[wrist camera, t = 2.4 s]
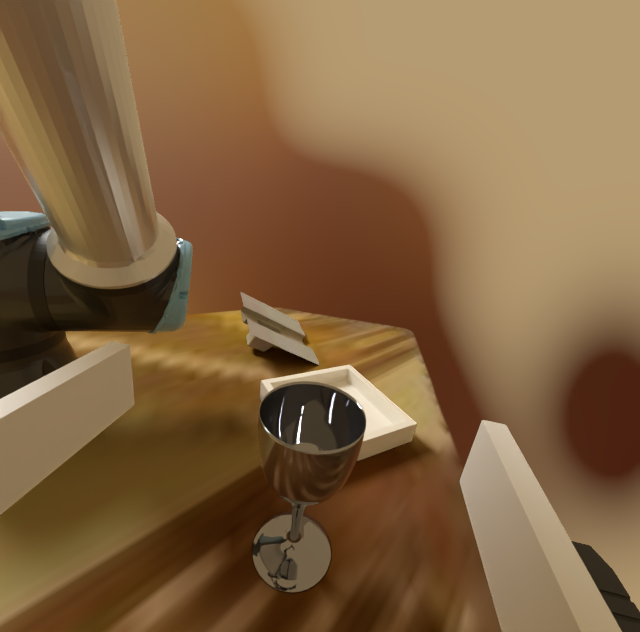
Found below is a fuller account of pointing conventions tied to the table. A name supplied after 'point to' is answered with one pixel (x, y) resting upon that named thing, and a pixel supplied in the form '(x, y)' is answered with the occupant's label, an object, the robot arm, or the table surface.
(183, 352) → the table surface
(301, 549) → the silver metal goblet
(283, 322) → the grey display stand
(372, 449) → the tray
